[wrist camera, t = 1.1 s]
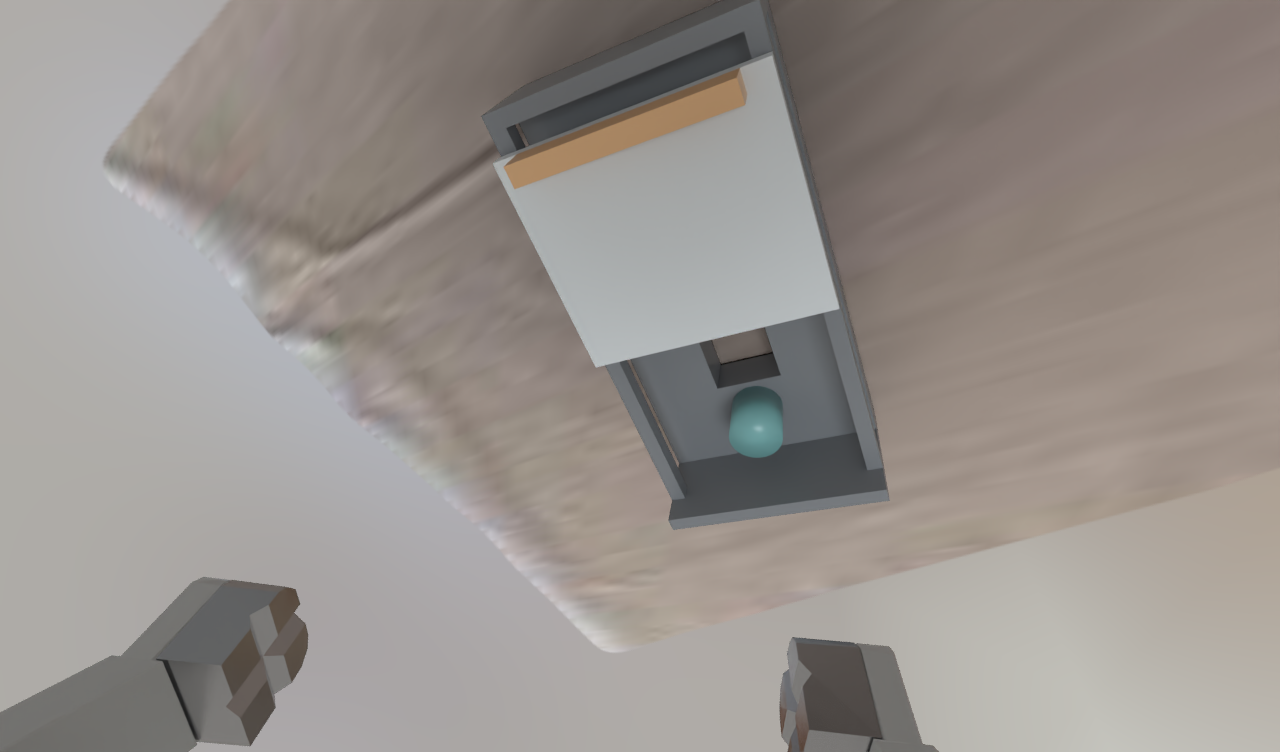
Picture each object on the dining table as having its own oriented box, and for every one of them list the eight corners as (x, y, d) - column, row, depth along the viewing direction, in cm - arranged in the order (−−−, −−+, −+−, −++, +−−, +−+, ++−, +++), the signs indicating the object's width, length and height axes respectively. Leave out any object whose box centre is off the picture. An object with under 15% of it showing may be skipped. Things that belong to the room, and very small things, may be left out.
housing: (763, -18, 35) (757, 5, 28) (874, 413, 50) (889, 500, 43) (523, 85, 40) (466, 126, 33) (688, 447, 55) (673, 529, 48)
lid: (772, 51, 30) (771, 64, 28) (838, 299, 37) (841, 327, 34) (499, 157, 36) (478, 176, 33) (599, 358, 42) (588, 386, 40)
